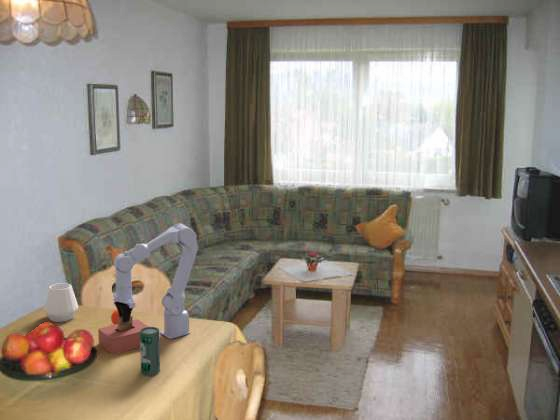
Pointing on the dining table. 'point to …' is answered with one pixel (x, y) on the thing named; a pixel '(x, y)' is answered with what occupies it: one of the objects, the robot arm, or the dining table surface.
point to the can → (150, 351)
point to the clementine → (115, 317)
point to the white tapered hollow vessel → (60, 302)
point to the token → (124, 324)
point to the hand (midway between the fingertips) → (124, 320)
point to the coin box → (120, 337)
